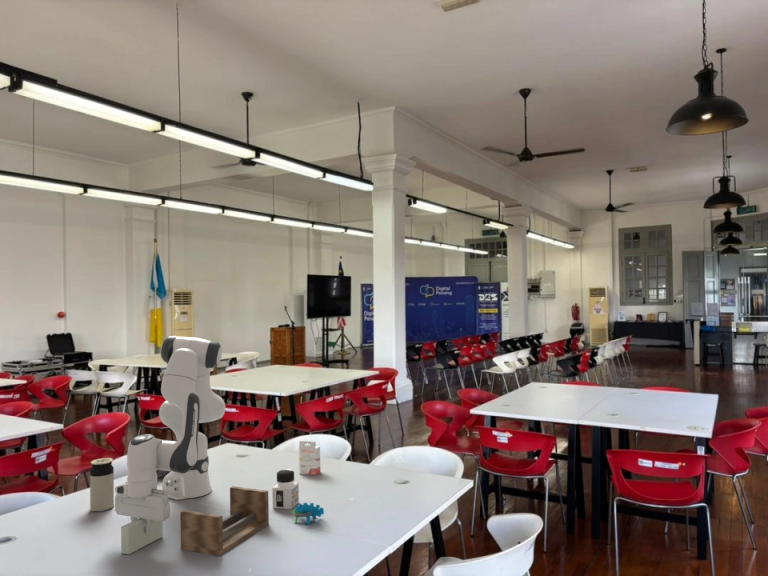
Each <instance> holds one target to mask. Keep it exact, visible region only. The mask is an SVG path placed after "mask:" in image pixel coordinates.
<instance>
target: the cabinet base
mask: <svg viewBox="0 0 768 576" xmlns="http://www.w3.org/2000/svg"><path fill="white" fill-rule="evenodd" d="M269 506H270V504H269V490H264V489H256V488H249V487H241V486H240V487H239V486H231V487H229V510H230V511H229V514H230V515H229V516H227V517H225V518H224V517H223V515H219V514H213V513H205V512H200V511H193V510H187V509H183V510H181V511H180V513H179V515H180V516H179V517H180V523H179V524H180V527H179V528H180V550H184V551H188V552H189V551H190V552H195V553H200V554H206V555H212V556H216V557H221V556H222V555H223V554H226V553H227V552H228V551H230V550H231V549H233V548H234V547H236V546H238V545H239V544H241V543H242V542H243V541H246V540H247V539H248V538H250V537H252V536H253V535H254V534H257V533H258V532H259V531H260V530H262V529H264V528H266V527H267V526H268V525H269V524H270V519H269V516H270V515H269V514H270V513H269V511H270V510H269Z"/></svg>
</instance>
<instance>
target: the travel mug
mask: <svg viewBox="0 0 768 576" xmlns="http://www.w3.org/2000/svg"><path fill="white" fill-rule="evenodd" d="M113 461H114V459H113V458H111V457H105V458H104V457H102V458H97V459H93V460H91V461H90V464H91V468H90V472H89V473H90V474H89V488H90V489H89V497H90V498H89V509H90V512H94V511H101V512H105V511H104V510H106V511H108V509H109V510H111V509H112V508H113V507H115V495H114V493H115V487H114V486H115V485H114V483H115V482H114V478H115V475H114V471H115V470H114V466H113ZM110 508H111V509H110Z"/></svg>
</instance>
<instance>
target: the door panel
mask: <svg viewBox="0 0 768 576" xmlns="http://www.w3.org/2000/svg"><path fill="white" fill-rule="evenodd" d="M163 523H164V521H162V522H159V521H154V523H153V525H152V531H151V532H150V533H145V532H144V527H146V526H147V524H148V523H147V522H146V519H141V518H138V519H137V520H135V521H133V522H131V521H130V522H128V523H126V524H124V525H121V527H120V531H121V533H120V535H121V536H120V544H121V545H120V548H121V549H120V552H121V554H125V555H131V554H132V553H134V552H136V551H138V550H140V549H141V548H142V549H143V547H145V546H148V545H149V544H151V543H153V542H156V541H157V540H159V539H161V538H163V537H164V528H163V527H164V524H163Z"/></svg>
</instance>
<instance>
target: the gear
mask: <svg viewBox="0 0 768 576" xmlns="http://www.w3.org/2000/svg"><path fill="white" fill-rule="evenodd" d="M314 504H315V503H313V502H310V503H309V504H308V503H307V502H304V503H298V505H295V508H294V509H293V508H292V509H293V510H292V514H293V515H294V517H295V520H294V521H295V522H294V524H297V523H298V520H299V519H298V518H306V523H305V524H306V526H309V525H310V521H311V517H312V518H313V519H316V518H317V517H319V518H321V517H322V515H324V514H325V513H324V510H325V509H324V507H320V506H321V505H320V504H316V505H315V506H314Z"/></svg>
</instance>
